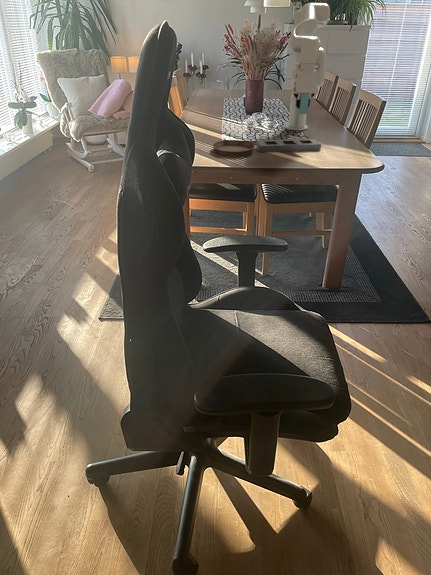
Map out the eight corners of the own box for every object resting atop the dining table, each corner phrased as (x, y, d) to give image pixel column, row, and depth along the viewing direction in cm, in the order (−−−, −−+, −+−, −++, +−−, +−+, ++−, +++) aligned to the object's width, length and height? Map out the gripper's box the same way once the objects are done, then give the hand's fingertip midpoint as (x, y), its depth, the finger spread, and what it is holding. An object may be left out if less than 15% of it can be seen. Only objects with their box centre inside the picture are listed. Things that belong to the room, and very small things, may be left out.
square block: (296, 112, 231) (299, 91, 226) (304, 112, 232) (306, 91, 227) (299, 114, 228) (301, 92, 223) (307, 114, 229) (309, 92, 223)
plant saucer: (203, 151, 224) (203, 144, 222) (232, 143, 236) (233, 137, 235) (234, 161, 212) (234, 153, 210) (263, 152, 224) (264, 145, 222)
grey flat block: (256, 146, 231) (256, 140, 230) (313, 144, 236) (314, 138, 234) (261, 152, 223) (261, 146, 222) (320, 150, 227) (321, 144, 226)
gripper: (292, 68, 214) (288, 109, 224) (326, 67, 217) (321, 108, 227) (287, 66, 221) (283, 106, 230) (320, 66, 223) (315, 106, 233)
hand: (302, 107), depth 228 cm, fingers closed on square block, 4 cm apart
